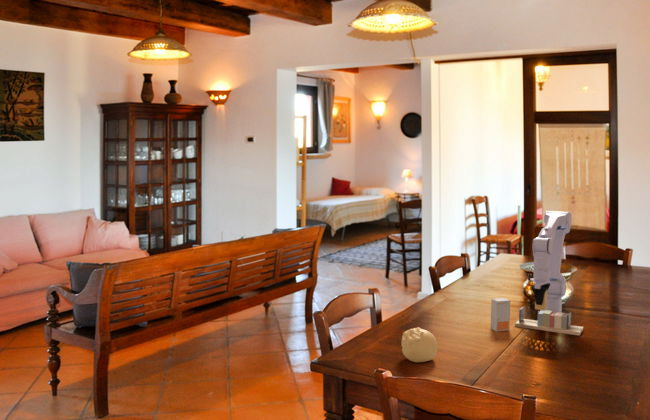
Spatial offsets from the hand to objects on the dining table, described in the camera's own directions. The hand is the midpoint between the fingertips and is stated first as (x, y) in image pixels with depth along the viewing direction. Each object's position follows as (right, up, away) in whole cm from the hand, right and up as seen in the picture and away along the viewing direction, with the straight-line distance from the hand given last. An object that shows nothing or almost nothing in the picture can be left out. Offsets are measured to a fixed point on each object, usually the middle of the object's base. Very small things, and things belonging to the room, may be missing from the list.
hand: (540, 303), depth 244 cm
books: (+5, -9, +1) cm, 11 cm away
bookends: (+2, -9, +3) cm, 10 cm away
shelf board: (+4, -10, +2) cm, 11 cm away
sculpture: (-52, -15, -31) cm, 62 cm away
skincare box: (-15, -11, +1) cm, 19 cm away
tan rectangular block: (0, -2, 0) cm, 2 cm away
